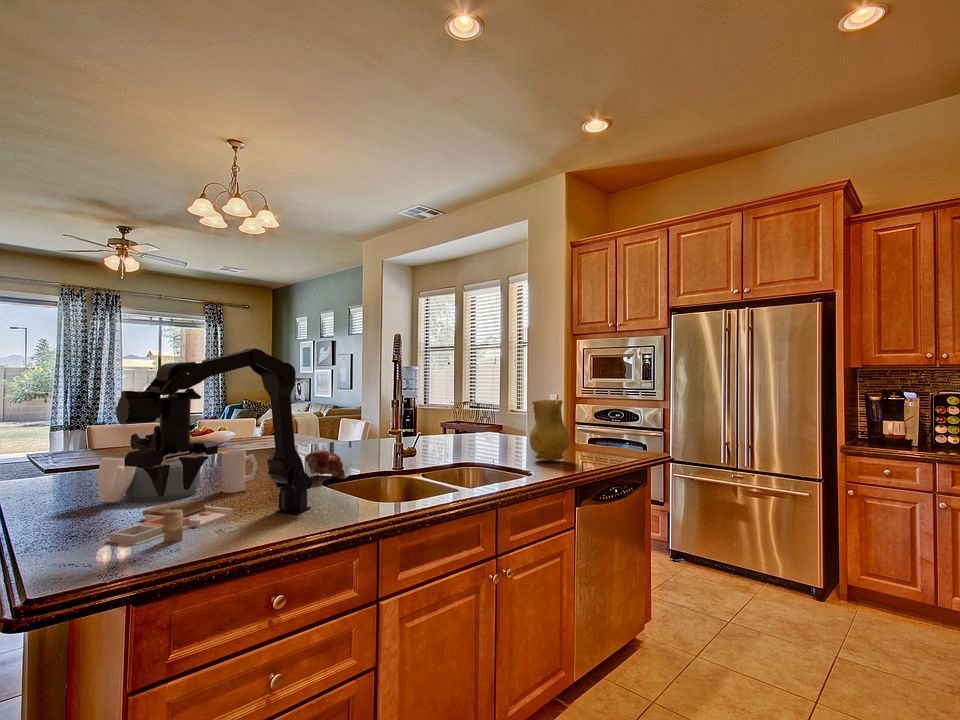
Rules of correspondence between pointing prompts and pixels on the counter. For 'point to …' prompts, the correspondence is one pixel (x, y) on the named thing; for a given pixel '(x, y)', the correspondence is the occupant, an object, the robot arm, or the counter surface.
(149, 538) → the board
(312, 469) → the reddish brown lump
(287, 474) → the robot arm
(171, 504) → the lid
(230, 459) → the mug
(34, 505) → the counter surface
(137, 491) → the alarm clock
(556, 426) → the pitcher
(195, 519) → the housing base
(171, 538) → the peg
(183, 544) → the counter surface
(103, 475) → the mug
